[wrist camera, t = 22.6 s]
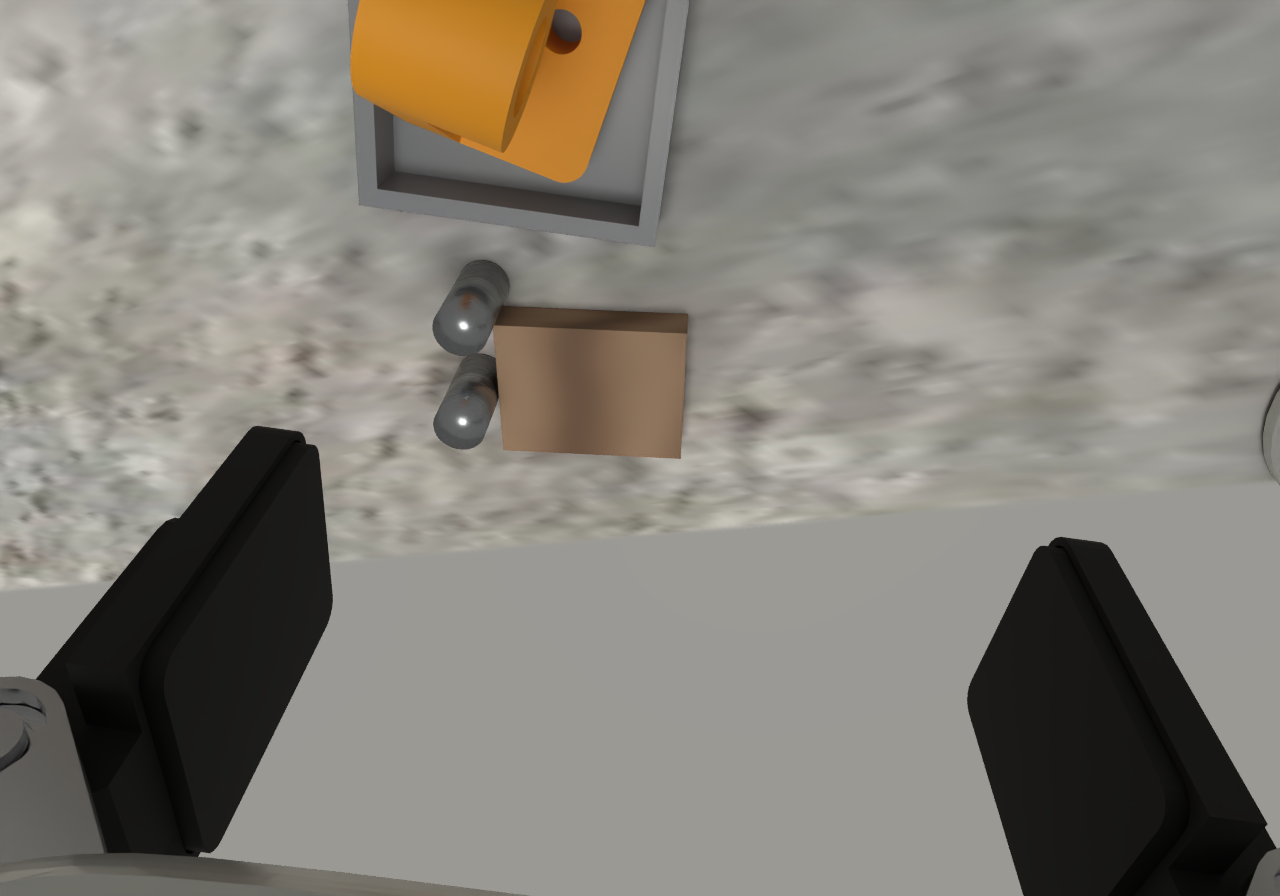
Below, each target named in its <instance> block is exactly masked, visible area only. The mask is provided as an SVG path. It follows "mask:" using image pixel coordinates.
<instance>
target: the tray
mask: <svg viewBox="0 0 1280 896" xmlns="http://www.w3.org/2000/svg"><path fill="white" fill-rule="evenodd" d="M359 1H360V0H348V12H349V30H350V49H351V48H352V39H353V31H354V25H355V20H356V15H357V10H358V6H359ZM688 7H689V0H646V2H645V5H644V8H643V11H642V14H641V17H640V19H639V22H638V25H637V28H636V31H635V34H634V37H633V39H632V42H631V45H630V48H629V51H628V54H627V56H626V59H625V62H624V65H623V68H622V71H621V74H620V76H619V79H618V82H617V85H616V88H615V91H614V94H613V96H612V99H611V102H610V105H609V108H608V111H607V113H606V116H605V119H604V121H603V124H602V127H601V130H600V133H599V136H598V139H597V141H596V144H595V147H594V150H593V153H592V155H591V158H590V161H589V163H588V166H587V168H586V170H585V172H584V174H583V175H582V176H581V177H580V178H578V179H577V180H575V181H572V182H568V183H561V182H557V181H554V180H552V179H549V178H547V177H544V176H542V175H539V174H536V173H534V172H531V171H529V170H526V169H524V168H521V167H519V166H516V165H514V164H511V163H509V162H506V161H504V160H501V159H499V158H496V157H494V156H491V155H489V154H486V153H484V152H481V151H479V150H476V149H474V148H471V147H469V146H466V145H464V144H461V143H459V142H456V141H454V140H451V139H449V138H446V137H444V136H441V135H439V134H436V133H434V132H431V131H429V130H426V129H424V128H421V127H419V126H416V125H413V124H411V123H408V122H406V121H404V120H403V119H401V118H399V117H397V116H395V115H393V114H392V113H390V112H388V111H386V110H384V109H382V108H381V107H379V106H377V105H375V104H373V103H371V102H370V101H368V100H366V99H364V98H362V97H360V96H359V95H357V94H356V92H355V91H354V88H353V103H354V121H355V140H356V158H357V176H358V194H359V205H362V206H369V207H376V208H383V209H390V210H397V211H405V212H412V213H419V214H426V215H433V216H440V217H447V218H454V219H461V220H468V221H475V222H482V223H489V224H496V225H503V226H510V227H517V228H524V229H531V230H538V231H545V232H552V233H559V234H566V235H573V236H580V237H587V238H594V239H601V240H608V241H615V242H623V243H630V244H637V245H644V246H651V247H655V244H656V237H657V230H658V223H659V215H660V208H661V201H662V194H663V187H664V180H665V172H666V165H667V158H668V151H669V144H670V137H671V129H672V122H673V115H674V108H675V101H676V93H677V86H678V79H679V72H680V65H681V58H682V50H683V43H684V36H685V29H686V22H687V14H688ZM552 27H553V30H554V32H555V33H556V34H557V35H558V36H559V37H560V38H561V39H563V40H565V41H569V42H574V41H578V40H580V39H581V37H582V29H581V25H580V23H579V21H578V19H577V18H576V16H575V15H574V14H572V13H571V12H569V11H567V10H564V9H556V10H555V12H554V16H553V20H552Z"/></svg>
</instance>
